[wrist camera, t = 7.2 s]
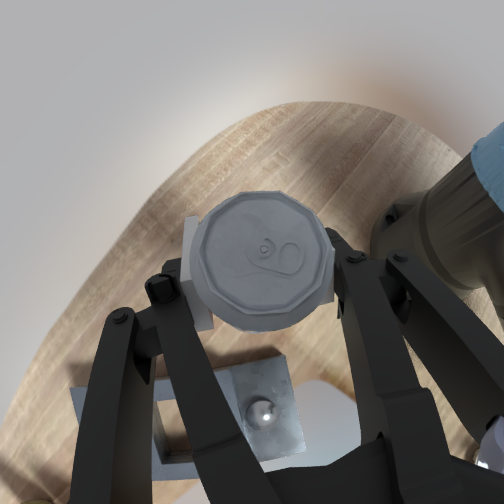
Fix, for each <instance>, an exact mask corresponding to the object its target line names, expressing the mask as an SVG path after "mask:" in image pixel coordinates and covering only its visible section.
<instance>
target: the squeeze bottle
mask: <svg viewBox="0 0 504 504" xmlns="http://www.w3.org/2000/svg"><path fill="white" fill-rule="evenodd" d="M21 504H52V503H50V502H49V501H46V500H35V501H26V502H22V503H21Z"/></svg>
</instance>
